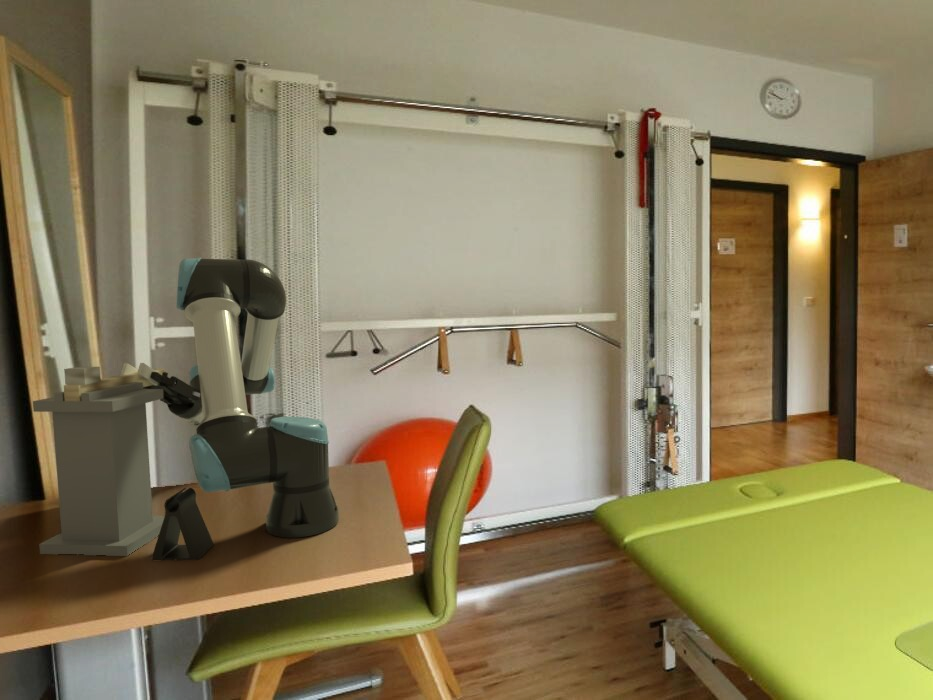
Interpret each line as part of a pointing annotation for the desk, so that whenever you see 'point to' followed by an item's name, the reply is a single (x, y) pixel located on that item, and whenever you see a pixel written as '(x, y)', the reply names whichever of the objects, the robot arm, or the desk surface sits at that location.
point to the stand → (102, 471)
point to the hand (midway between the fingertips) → (132, 368)
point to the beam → (95, 381)
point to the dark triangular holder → (182, 529)
